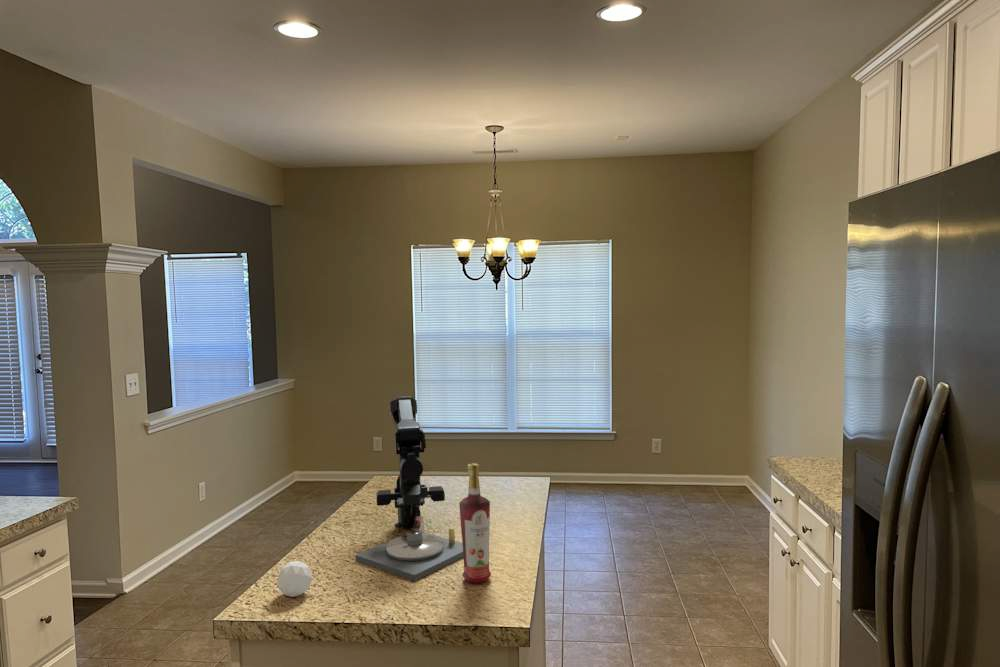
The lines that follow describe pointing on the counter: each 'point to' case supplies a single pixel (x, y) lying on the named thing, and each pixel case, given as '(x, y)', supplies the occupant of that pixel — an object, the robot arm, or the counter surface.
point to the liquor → (475, 530)
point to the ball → (294, 578)
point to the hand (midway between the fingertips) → (411, 525)
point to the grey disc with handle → (415, 544)
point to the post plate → (413, 568)
